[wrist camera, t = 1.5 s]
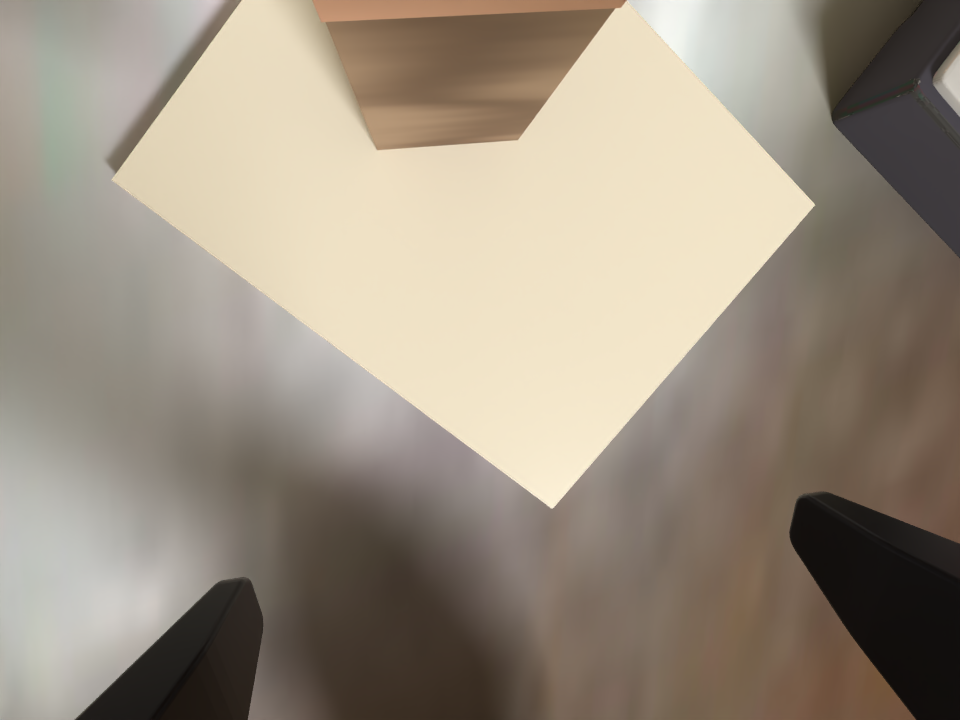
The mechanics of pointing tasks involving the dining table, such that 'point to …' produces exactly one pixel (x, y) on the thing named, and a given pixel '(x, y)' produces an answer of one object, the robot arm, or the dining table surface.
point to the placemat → (477, 229)
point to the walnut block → (457, 63)
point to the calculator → (914, 115)
